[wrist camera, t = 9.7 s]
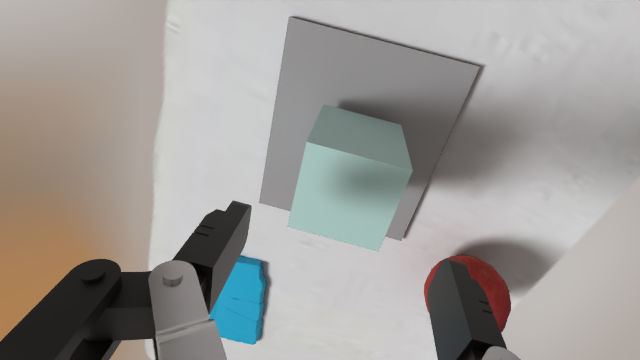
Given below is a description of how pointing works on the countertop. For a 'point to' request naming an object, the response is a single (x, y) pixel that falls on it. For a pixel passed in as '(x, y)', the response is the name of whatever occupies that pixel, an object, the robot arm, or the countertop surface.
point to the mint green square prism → (351, 178)
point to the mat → (361, 103)
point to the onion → (483, 286)
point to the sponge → (241, 302)
